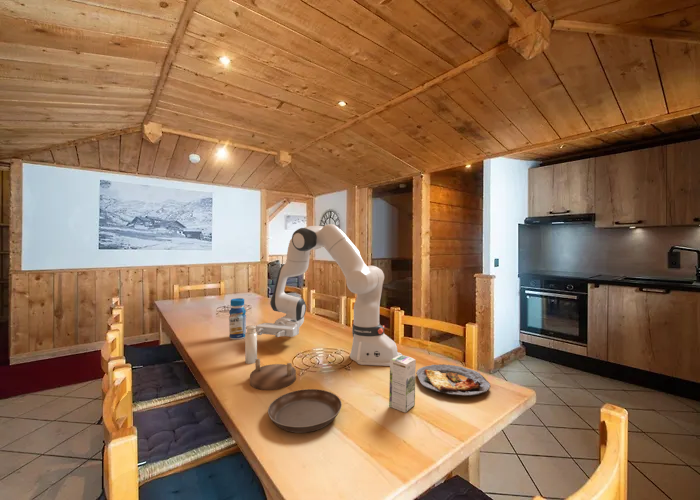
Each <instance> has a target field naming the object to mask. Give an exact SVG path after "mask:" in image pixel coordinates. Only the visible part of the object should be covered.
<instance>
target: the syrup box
mask: <svg viewBox="0 0 700 500" xmlns="http://www.w3.org/2000/svg"><path fill="white" fill-rule="evenodd" d="M416 361H417V360H416V359H415V358H413V357H411V356H407V355H404V354H402V355H399V356H397V357H395V358H393V359H391V360H390V366H389V398H388V399H389V402H388V406H389V407H390V408H391V409H395V410H396V411H399V412H403V413H405V414H406V413H408V411H410V410H411V409H412V408H413V407H414V406H415V404H416V370H417V369H416V363H417V362H416Z"/></svg>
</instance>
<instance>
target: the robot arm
mask: <svg viewBox="0 0 700 500" xmlns="http://www.w3.org/2000/svg"><path fill="white" fill-rule="evenodd" d="M321 248H324V249H325V250H326V251H327V253H328V254H329V255H330V256H331V257H332V259H333V260H334V262H335V263H336V264H337V265H338V266H339V269H340V270H341V272H342V274H343V276H344V278H345V282H346V287H347V289H348V290H349V291H350V292H351V293H352V294H356V299H355V301H354V303H353V304H354V305H353V324H352V328H351V329H352V330H351V334H352V337H353V338H352V344H351V350H350V354H349V357H350V359H351V360H352V361H354V362H356V363H357V364H358V365H362V366H363V365H364V366H381V367H382V366H384V367H390V360H391V359H393V358H395V357H397V356H399V355H403V354H402V353H401V352H398V346H397V343H396V342H395V340H393V339H392V338H391V337H390V336H388V335H387V334H385V325H383V324H382V325H381V323H380V306H381V305H380V304H381V298H382V291H383V284H384V280H385V273H384V271H383V269H381V268H380V267H378V266H375V265H367V264H366V263H365V261H364V259H363V258H362V256H361V252H360V250H359V248H358V247H357V246H356V245H355V244H354V242H352V240H351V239H350V238H349V237H348V236H347V235H346V233H345V232H344V231H343V230H342V229H340V227H338V226H337V225H336V224H333V223H328V224H326V225H324V224H319V225H309V226H304V227H301V228H298V229H296V230H295V231H294V232H293V233H292V236H291V239H290V240H289V243H288V248H287V253H286V260H285V263H284V264H282V265H281V266H280V268H279V270H278V273H277V277H276V281H275V285H274V289H273V293H272V296H271V298H270V303H269V304H270V307H271V309H272V311H274V312H278V313H283V314H285V315H284V316H281V317H279V318H277V319H276V320H275V321H274V322H263V323H258V324H257V325H255V326H256V328H255V332H257V336H261V335H271V336H272V335H273V336H275V337H276V338H279V337H290V338H293V337H296V336H297V335H299V334H300V327H301V326H302V325H303V323H304V322H305V316H306V311H307V304H306V301H305V300H304V299H303V298H302V297H298V296H295V295H291V294H287V293H286V292H285V289H286V285H287V281H288V278H294V277H299V276H301V275H303V274H305V273H306V272H307V271H308V269H309V266H310V255H311V254H310V253H311V251H314V250H318V249H321Z"/></svg>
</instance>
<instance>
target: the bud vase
mask: <svg viewBox="0 0 700 500" xmlns="http://www.w3.org/2000/svg"><path fill="white" fill-rule="evenodd" d="M244 340H245V341H244V345H245V346H244V351H245V353H244V354H245V355H244V356H245V364H247V365H252V364H255V360H256V359H258V335H257V332H256V325H253V324H252V325H246V333H245V338H244Z"/></svg>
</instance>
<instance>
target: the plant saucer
mask: <svg viewBox="0 0 700 500" xmlns="http://www.w3.org/2000/svg"><path fill="white" fill-rule="evenodd" d="M342 405H343V404H342V401H341V399H340V397H339V396H338V395H337V394H335V393H332V392H330V391H327V390H323V389H316V388H315V389H314V388H310V389H309V388H308V389H307V388H306V389H299V390H294V391H291V392H287V393H284V394H282V395H280V396H278V397H277V398H275V399H274V400H273V401H272V402H271V403H270V405H269V407H268V409H267V413H268V417H269V418H270V420H271V421H272V422H273V423H274V424H275V425H276V426H277V427H278V428H281V429H282V430H285V431H287V432H290V433H291V432H292V433H299V434H300V433H310V432H315V431H319V430H321V429H323V428H325V427H327V426H328V425H330V423H332V422H333V421H334V420H335V419H336V417H338V415H339V413H340V411H341V409H342V407H343V406H342Z"/></svg>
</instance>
